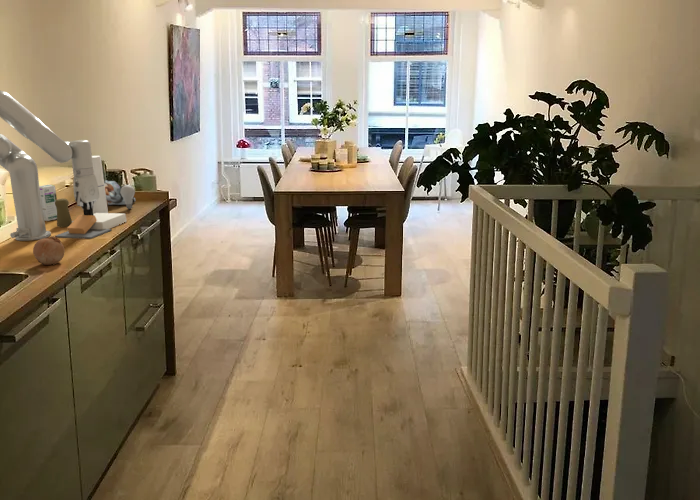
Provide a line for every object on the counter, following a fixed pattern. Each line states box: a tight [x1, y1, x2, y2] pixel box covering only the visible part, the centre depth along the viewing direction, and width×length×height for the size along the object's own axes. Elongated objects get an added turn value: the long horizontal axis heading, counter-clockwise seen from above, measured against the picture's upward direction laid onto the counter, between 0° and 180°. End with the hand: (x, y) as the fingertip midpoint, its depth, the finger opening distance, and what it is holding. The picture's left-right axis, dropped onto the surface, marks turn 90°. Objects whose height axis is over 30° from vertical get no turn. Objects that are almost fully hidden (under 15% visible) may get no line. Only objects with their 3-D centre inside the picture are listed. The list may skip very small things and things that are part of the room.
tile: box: [66, 214, 97, 234], centre depth 281 cm, size 9×7×2 cm
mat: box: [54, 228, 112, 240], centre depth 280 cm, size 13×16×1 cm
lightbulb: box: [120, 184, 136, 210], centre depth 323 cm, size 6×6×11 cm
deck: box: [72, 212, 127, 229], centre depth 292 cm, size 16×14×4 cm
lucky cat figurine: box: [104, 179, 137, 206], centre depth 335 cm, size 15×12×14 cm
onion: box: [32, 235, 66, 266], centre depth 238 cm, size 10×9×10 cm
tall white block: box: [92, 155, 109, 214], centre depth 313 cm, size 7×7×25 cm
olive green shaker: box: [55, 198, 73, 228], centre depth 295 cm, size 6×6×11 cm
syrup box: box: [39, 184, 58, 222], centre depth 308 cm, size 6×6×14 cm
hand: (89, 218), depth 286 cm, fingers closed
